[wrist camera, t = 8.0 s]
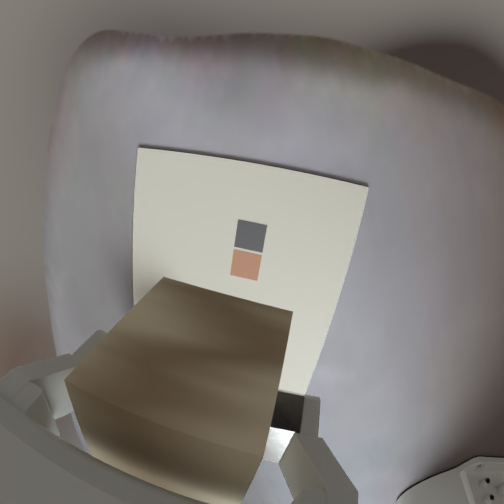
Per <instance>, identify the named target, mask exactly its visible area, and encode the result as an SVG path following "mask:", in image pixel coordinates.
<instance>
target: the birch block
mask: <svg viewBox="0 0 504 504" xmlns="http://www.w3.org/2000/svg"><path fill="white" fill-rule="evenodd" d="M292 315H293V311H289V310H285V309H281V308H277V307H273V306H269V305H265V304H261V303H257V302H253V301H250V300H246V299H242V298H238V297H234V296H231V295H227V294H223V293H220V292H216V291H212V290H209V289H205V288H202V287H198V286H194V285H191V284H187V283H184V282H180V281H177V280H174V279H170V278H167V277H163V278H162V279H161V280H160V281H159V282H158V283H157V284H156V285H155V286H154V287H153V288H152V289H151V290H150V291H149V292H148V293H147V294H146V295H145V296H144V297H143V298H142V299H141V300H140V301H139V302H138V303H137V304H136V305H135V306H134V307H133V308H132V309H131V310H130V311H129V312H128V313H127V314H126V315H125V316H124V317H123V318H122V319H121V320H120V321H119V322H118V323H117V324H116V325H115V326H114V327H113V328H112V329H111V330H110V331H109V332H108V333H107V334H106V336H105V337H104V338H103V339H102V340H101V341H100V342H99V343H98V344H97V345H96V346H95V347H94V348H93V349H92V350H91V351H90V352H89V353H88V355H87V356H86V357H85V358H84V359H83V360H82V361H81V362H80V363H79V364H78V365H77V366H76V367H75V368H74V370H73V371H72V372H71V373H70V374H69V375H68V376H67V377H66V378H65V379H64V381H65V384H66V388H67V391H68V394H69V397H70V400H71V403H72V406H73V409H74V412H75V415H76V418H77V420H78V423H79V426H80V428H81V431H82V434H83V436H84V439H85V441H86V444H87V446H88V448H89V451H90V453H91V456H93V457H95V458H97V459H99V460H101V461H103V462H105V463H107V464H109V465H111V466H113V467H115V468H117V469H119V470H121V471H123V472H126V473H128V474H130V475H132V476H135V477H137V478H139V479H142V480H144V481H146V482H149V483H151V484H154V485H156V486H159V487H161V488H164V489H167V490H169V491H172V492H175V493H178V494H180V495H183V496H186V497H189V498H192V499H195V500H199V501H202V502H205V503H209V504H241V503H242V501H243V499H244V496H245V494H246V492H247V490H248V488H249V486H250V484H251V482H252V480H253V478H254V476H255V474H256V471H257V469H258V467H259V465H260V463H261V461H262V458H263V456H264V452H265V448H266V444H267V439H268V435H269V430H270V426H271V421H272V417H273V412H274V407H275V403H276V398H277V393H278V388H279V383H280V378H281V373H282V368H283V363H284V358H285V353H286V348H287V342H288V337H289V331H290V326H291V320H292Z"/></svg>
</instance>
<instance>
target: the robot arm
mask: <svg viewBox="0 0 504 504" xmlns="http://www.w3.org/2000/svg"><path fill="white" fill-rule="evenodd" d="M106 334H107V333H106V332H104V331H102V330H98V331H96V332H95V333H94V334H93V335H92V336H91V337H90V338H89V339H88V340H87V341H86V342H85V343H84V344H83V345H82V346H81V347H80V348H79V349H78V350H77V351H76V352H75V353H74V354H73V355H71V354H65V355H61V356H58V357H54V358H50V359H47V360H43V361H39V362H35V363H31V364H27V365H23V366H19V367H15V368H13V369H12V370H11V371H10V372H8V373H7V374H6V375H5V376H4V377H3V378H2V379H1V380H0V504H209V503H205V502H202V501H199V500H195V499H192V498H189V497H186V496H183V495H180V494H178V493H175V492H172V491H169V490H167V489H164V488H161V487H159V486H156V485H154V484H151V483H149V482H146V481H144V480H142V479H139V478H137V477H135V476H132V475H130V474H128V473H126V472H123V471H121V470H119V469H117V468H115V467H113V466H111V465H109V464H107V463H105V462H103V461H101V460H99V459H97V458H95V457H93V456H91V455H90V454H88V453H86V452H84V451H82V450H80V449H78V448H77V447H75V446H73V445H72V444H70V443H68V442H67V441H65V440H63V439H62V438H60V437H59V435H60V431H59V429H58V427H57V424H56V422H55V419H57V418H60V417H62V416H64V415H66V414H69V413H71V412H73V411H74V409H73V406H72V403H71V400H70V397H69V394H68V391H67V388H66V384H65V381H64V379H65V378H66V377H67V376H68V375H69V374H70V373H71V372H72V371H73V370H74V368H75V367H76V366H77V365H78V364H79V363H80V362H81V361H82V360H83V359H84V358H85V357H86V356H87V355H88V353H89V352H90V351H91V350H92V349H93V348H94V347H95V346H96V345H97V344H98V343H99V342H100V341H101V340H102V339H103V338H104V337H105V336H106ZM319 415H320V398H319V397H315V396H310V395H305V394H304V395H303V394H300V393H295V392H291V391H286V390H282V389H278V393H277V398H276V403H275V407H274V412H273V417H272V421H271V426H270V430H269V435H268V439H267V444H266V448H265V452H264V456H263V458H262V459H265V460H269V461H274V462H278V463H279V466H280V468H281V471H282V473H283V476H284V478H285V480H286V483H287V485H288V487H289V489H290V492H291V494H292V496H293V499H294V501H293V502H292V503H291V504H358V491H357V489H356V488H355V487H354V485H353V484H352V482H351V481H350V479H349V478H348V476H347V475H346V473H345V472H344V470H343V469H342V467H341V466H340V464H339V463H338V461H337V460H336V458H335V457H334V455H333V454H332V452H331V450H330V449H329V447H328V446H327V444H326V443H325V441H324V440H323V438H319V437H318V429H319ZM397 504H504V458H496V457H475V458H472V459H470V460H469V461H467V462H465V463H463V464H462V465H460V466H458V467H456V468H454V469H452V470H449V471H447V472H444V473H441V474H439V475H436V476H434V477H431V478H429V479H427V480H425V481H423V482H421V483H419V484H417V485H415V486H413V487H412V488H410V489H409V490H407V491H406V492H405V493H403V494H402V495H401V496H400V497H399V499H398V500H397Z"/></svg>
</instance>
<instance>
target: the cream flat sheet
mask: <svg viewBox="0 0 504 504" xmlns="http://www.w3.org/2000/svg"><path fill="white" fill-rule="evenodd" d="M368 190H369V187H366V186H362V185H358V184H353V183H349V182H345V181H341V180H336V179H332V178H327V177H323V176H318V175H314V174H309V173H304V172H299V171H294V170H289V169H284V168H279V167H273V166H268V165H262V164H257V163H251V162H245V161H239V160H233V159H227V158H220V157H213V156H206V155H199V154H192V153H184V152H176V151H168V150H159V149H150V148H140V147H139V148H138V154H137V166H136V180H135V197H134V220H133V298H134V306H135V305H136V304H137V303H138V302H139V301H140V300H141V299H142V298H143V297H144V296H145V295H146V294H147V293H148V292H149V291H150V290H151V289H152V288H153V287H154V286H155V285H156V284H157V283H158V282H159V281H160V280H161V279H162V278H163V277H167V278H170V279H174V280H177V281H180V282H184V283H187V284H191V285H194V286H198V287H202V288H205V289H209V290H212V291H216V292H220V293H223V294H227V295H231V296H234V297H238V298H242V299H246V300H250V301H253V302H257V303H261V304H265V305H269V306H273V307H277V308H281V309H285V310H289V311H293V315H292V320H291V326H290V331H289V337H288V342H287V348H286V353H285V358H284V363H283V368H282V373H281V378H280V383H279V388H278V389H282V390H286V391H291V392H295V393H300V394H303V395H304V394H305V393H306V390H307V388H308V385H309V382H310V380H311V377H312V375H313V372H314V369H315V367H316V364H317V361H318V358H319V356H320V353H321V350H322V347H323V344H324V342H325V339H326V336H327V333H328V330H329V327H330V324H331V321H332V318H333V315H334V312H335V309H336V306H337V303H338V299H339V296H340V293H341V290H342V287H343V283H344V280H345V277H346V273H347V270H348V266H349V263H350V259H351V256H352V252H353V249H354V245H355V242H356V238H357V234H358V230H359V226H360V223H361V219H362V215H363V211H364V207H365V203H366V198H367V194H368Z"/></svg>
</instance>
